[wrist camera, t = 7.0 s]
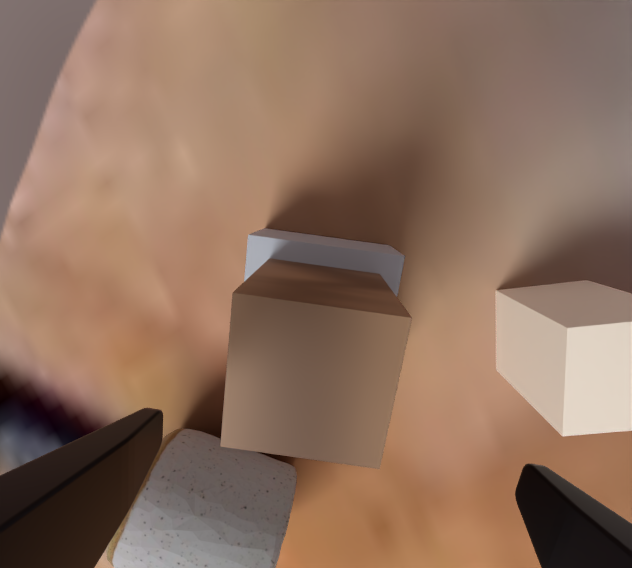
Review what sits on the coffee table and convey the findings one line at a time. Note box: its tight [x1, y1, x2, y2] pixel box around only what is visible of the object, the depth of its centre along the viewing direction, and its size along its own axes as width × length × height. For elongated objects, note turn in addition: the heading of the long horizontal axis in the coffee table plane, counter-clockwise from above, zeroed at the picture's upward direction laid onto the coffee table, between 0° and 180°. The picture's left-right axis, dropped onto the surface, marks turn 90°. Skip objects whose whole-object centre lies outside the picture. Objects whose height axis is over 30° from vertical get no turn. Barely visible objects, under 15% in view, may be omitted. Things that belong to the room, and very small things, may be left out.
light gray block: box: [244, 228, 405, 297], centre depth 18 cm, size 7×7×4 cm
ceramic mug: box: [106, 429, 297, 568], centre depth 19 cm, size 11×8×8 cm
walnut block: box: [220, 258, 412, 469], centre depth 13 cm, size 5×5×6 cm
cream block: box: [496, 280, 632, 436], centre depth 17 cm, size 5×5×6 cm
